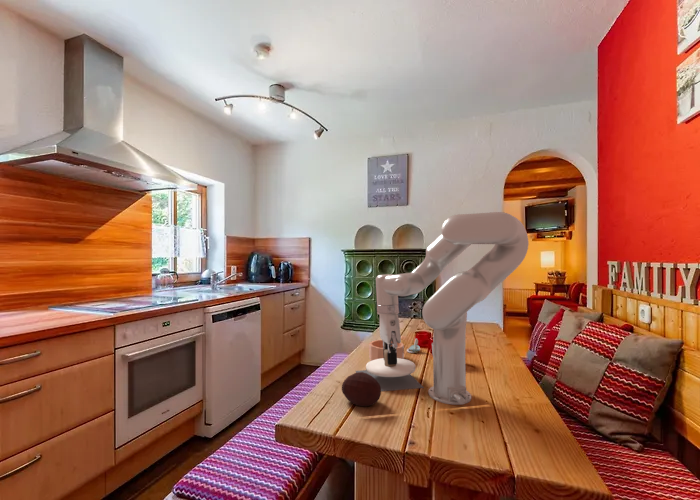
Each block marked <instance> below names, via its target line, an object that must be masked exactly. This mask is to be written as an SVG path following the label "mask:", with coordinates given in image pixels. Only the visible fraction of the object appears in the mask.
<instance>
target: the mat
mask: <svg viewBox="0 0 700 500" xmlns="http://www.w3.org/2000/svg"><path fill="white" fill-rule="evenodd" d="M358 372H363V373H367V374H369V375H371V376H372V377H374V378H375V379H376V380H377V381H378V383H379V384H380V387H381V392H389V391H390V392H391V391H401V390H403V391H404V390H415V389H416V390H417V389H424V388H425V387H424V386H423V385H422V384H421V383H420V382H419V381H418V380H417V379H416V378H415V377H414V376H413V375H412V373H411V374H409V375H406V376H400V377H381V376H376V375H373V374H370V373H369V372H367V370H366V369H365V370H362V369H361V370H355V373H358Z"/></svg>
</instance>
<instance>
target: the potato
mask: <svg viewBox="0 0 700 500" xmlns="http://www.w3.org/2000/svg"><path fill="white" fill-rule="evenodd" d="M341 392H342V394H343V396H344V397H345V398H346V399H347V401H349V402H350V403H351V404H353V405H356V406H358V407H368V406H369V407H370V406H373V405H374V404H376V403H377V402H378V401H379V400H380V398H381V395H382V391H381V387H380V384H379V383H378V381H377V380H376V379H375V378H374V377H372V376H371V375H369V374H367V373H363V372H358V373H356V372H354V373H352V374H350V375H349V376H347V377H346V378H345V379H344V380H343V383H342V385H341Z"/></svg>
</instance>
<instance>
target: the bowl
mask: <svg viewBox="0 0 700 500" xmlns="http://www.w3.org/2000/svg"><path fill="white" fill-rule="evenodd" d="M391 343H392V341H391ZM404 344H405V343H403V342H402V341H401V342H400V343H397V345H398V347H397V358H401V359H405V345H404ZM391 346H392V345H391ZM368 349H369V350H368V356H369V358H368V359H369V360H370V361H372V360H375V359H381V358H384V355H383V340H382V339H376V340H373V341H370V342H369V343H368ZM370 361H369V362H370Z"/></svg>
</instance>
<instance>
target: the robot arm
mask: <svg viewBox="0 0 700 500" xmlns="http://www.w3.org/2000/svg"><path fill="white" fill-rule="evenodd" d="M471 245H494V246H493V247H492V249H490V250H489V251H488V252H487V253H485V255H484V256H482V257H481V258H480V260H479V261H477V262H476V263H475V264H474V265H473V266H472V267H471V268H469V269H468V270H465V271H460V272H458V273H455V274H453V276H451V277H450V278H449V279H448V280H447V281H446V282H445V283H443V284H442V286H440V287H439V289H437V291H435V292H434V293H433V295H431V296H430V297H429V298H428V300H426V302H425V303H424V304H423V307H422V312H421V313H422V314H421V315H422V320H423V322H424V323H425V325H427V326H428V327H429V328H430V329H432V330H433V336H432V337H433V338H432V340H433V342H432V343H433V353H432V358H433V359H432V361H433V363H432V365H433V366H432V367H433V368H432V369H433V371H432V372H433V386H430V387H429V389H428V396H429V397H430V398H431V399H432V400H434V401H437V402H439V403H441V404H446V405H455V406H456V405H461V406H462V405H465V404H468V403H470V402H471V400H472V393H470V392H469V391H468V390H467V387H466V384H467V383H466V378H467V377H466V374H467V373H466V329H467V321H468V320H467V319H468V311H470V310H471V309H472V308H473V307H474V306H475V305H477V304H478V303H480V302H483V301H484V300H485V299H486V298H487V297H488V296H489V295H490V294H491V293H492V292H493V291H494V290H495V289H496V288H498V286H499V285H501V284H502V283H503V282H504V281H505V280H506V279H507V278H508V277H510V275H512V273H514V271H515V270H516V269H518V268H519V267H520V265H521V264H522V263H523V261H524V260H525V258H526V256H527V253H528V249H529V236H528V233H527V230H526V228H525V225H524V224H523V223H522V222H521V220H520V219H518V218H517V217H516V216H514V215H512V214H511V213H508V212H504V211H503V212H502V211H493V212H479V213H478V212H477V213H461V214H460V213H459V214H454V215H451V216H449V217H447V218H446V219H445V220H444V222H443V223H442V225H441V234H440V235H438V236H437V237H436V238H435V239H434V240H433V241H432V242H431V243H430V244H429V245H428V246H427V247H426V249H425V258H424V259H423V261H422V262H421V263H420V264H419V265H418V266H417V267H416V268H415V269H413V271H411V272H405V273H397V274H391V273H389V274H388V273H387V274H378V275H377V276H376V277H375V288H376V289H375V290H376V311H377V312H376V313H377V315H379V337H380V340H383V355H384V350H385V349H388V353H387V357H388V365H393V364H397V347H398V345H397V343H400V342H401V343H402V337H401V327H400V320H399V315H398V314H400V311H399V297H407V296H411V295H416V294H419V293H421V292H422V291H423V290H425V289H426V288H427V287H428V286H430V284H432V283H433V282H434V281H435V280H436V279H437V278H438V277H439V276H440V275H441V273H442V272H444V270H445V268H446V267H447V266H449V264H451V263H452V262H453V261H454V260H455V259H456V258H457V257H459V256H460V255H461V254H462V253H463V252H464V251H466V249H468V248H469V247H470V246H471ZM391 341H392V343H391ZM391 345H392V346H391Z"/></svg>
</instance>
